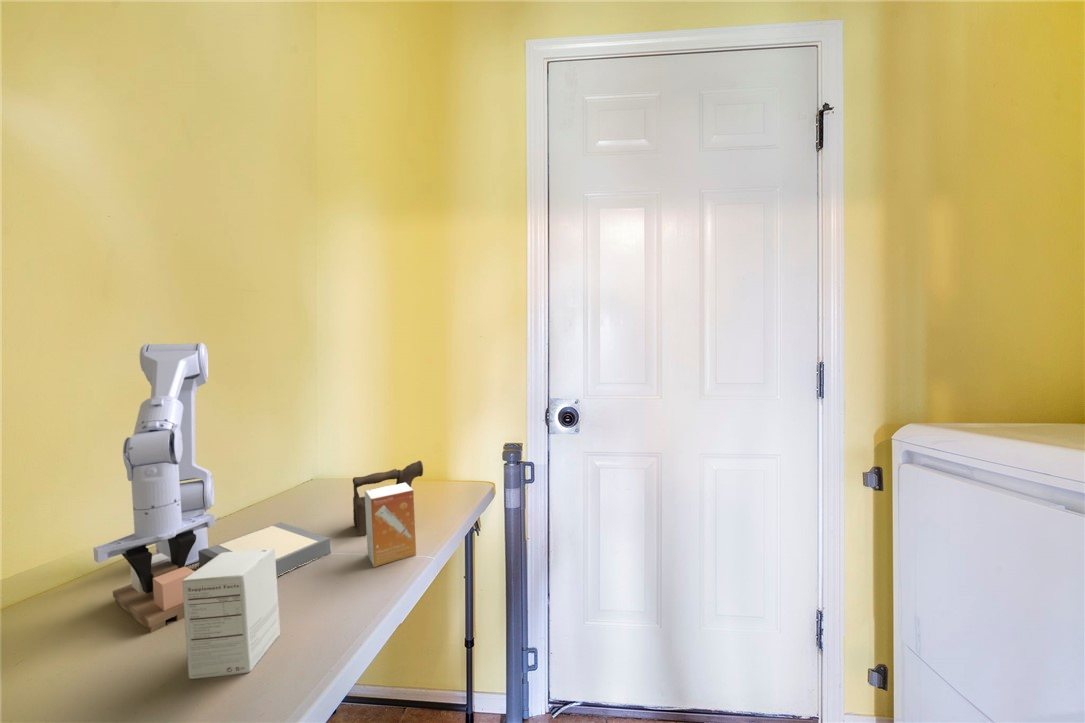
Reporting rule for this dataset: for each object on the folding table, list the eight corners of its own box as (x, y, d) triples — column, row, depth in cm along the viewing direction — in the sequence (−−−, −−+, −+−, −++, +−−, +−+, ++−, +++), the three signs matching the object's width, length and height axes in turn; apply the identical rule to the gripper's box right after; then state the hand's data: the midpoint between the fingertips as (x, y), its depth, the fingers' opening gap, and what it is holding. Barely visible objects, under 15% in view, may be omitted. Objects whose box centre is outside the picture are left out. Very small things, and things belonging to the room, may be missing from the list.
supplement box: (227, 639, 57) (221, 551, 57) (282, 634, 58) (277, 546, 58) (185, 681, 50) (179, 579, 50) (249, 674, 50) (243, 574, 50)
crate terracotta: (154, 603, 64) (152, 578, 64) (186, 590, 67) (185, 566, 67) (163, 610, 62) (162, 584, 62) (196, 596, 65) (195, 571, 65)
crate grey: (131, 586, 69) (130, 563, 69) (162, 575, 72) (161, 552, 72) (139, 592, 67) (138, 568, 67) (171, 580, 70) (169, 557, 70)
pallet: (113, 602, 68) (111, 567, 68) (174, 578, 75) (172, 546, 75) (149, 634, 59) (147, 593, 59) (215, 604, 66) (213, 567, 66)
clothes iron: (428, 519, 97) (425, 464, 97) (355, 537, 89) (352, 476, 88) (420, 509, 104) (417, 457, 104) (351, 525, 95) (348, 469, 95)
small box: (373, 568, 75) (369, 498, 75) (367, 555, 80) (363, 490, 80) (417, 555, 79) (414, 489, 79) (408, 543, 85) (405, 481, 85)
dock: (199, 566, 79) (198, 550, 79) (281, 535, 92) (280, 521, 92) (246, 591, 69) (245, 573, 69) (330, 552, 82) (329, 537, 82)
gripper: (101, 524, 59) (107, 617, 59) (220, 492, 71) (225, 569, 71) (87, 516, 62) (93, 604, 62) (203, 487, 75) (207, 560, 75)
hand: (162, 585), depth 67 cm, fingers closed on pallet, 3 cm apart
